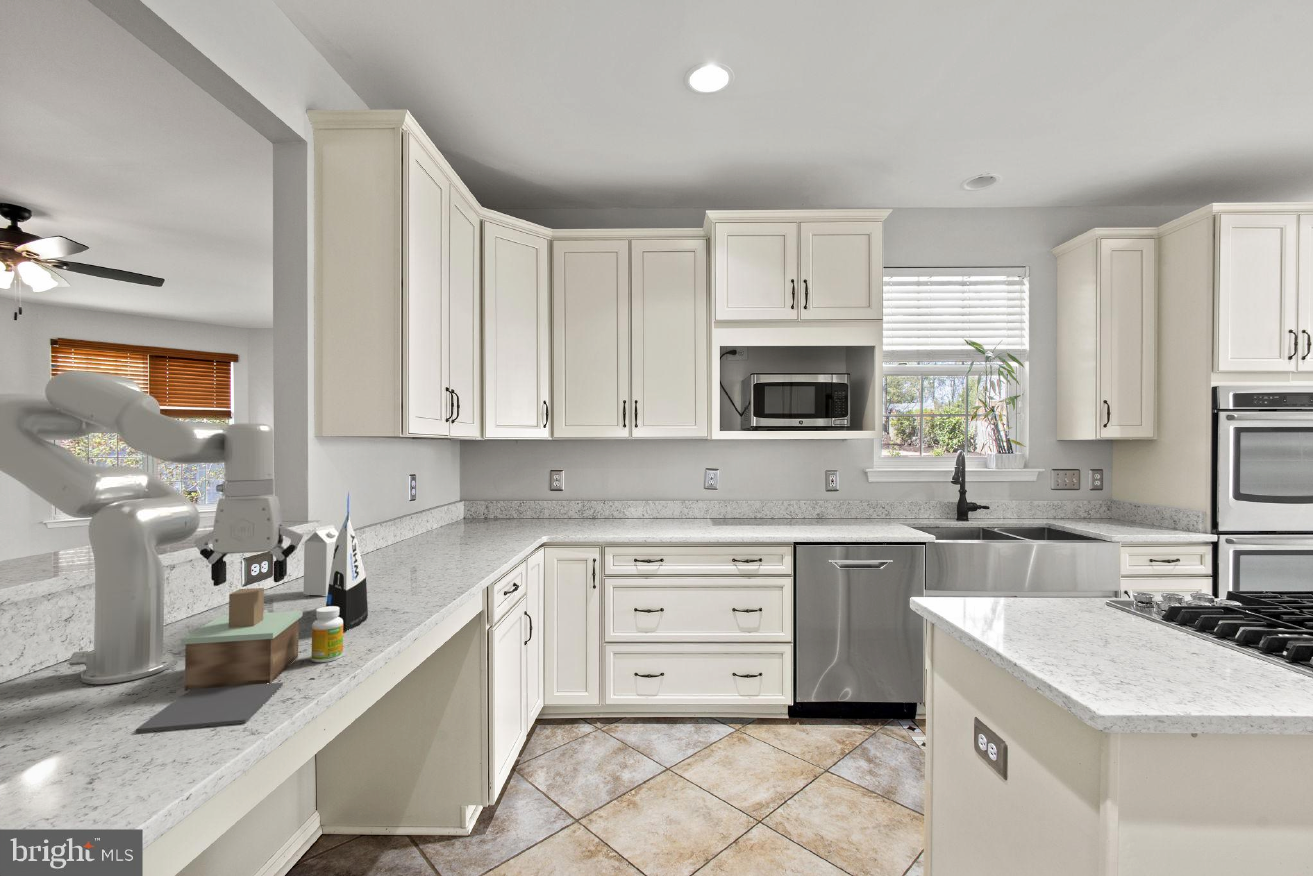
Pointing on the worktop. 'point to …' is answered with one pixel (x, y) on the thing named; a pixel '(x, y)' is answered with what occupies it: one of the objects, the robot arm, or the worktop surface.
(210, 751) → the worktop surface
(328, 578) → the milk carton
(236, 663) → the storage box
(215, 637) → the lid
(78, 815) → the worktop surface
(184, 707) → the rubber mat
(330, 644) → the supplement bottle
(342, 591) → the protein powder
